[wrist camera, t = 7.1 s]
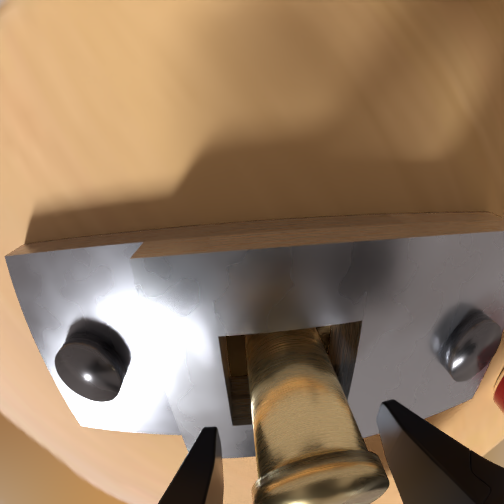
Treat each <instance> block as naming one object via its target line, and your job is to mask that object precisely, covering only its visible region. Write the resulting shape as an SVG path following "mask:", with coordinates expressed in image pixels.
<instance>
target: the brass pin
mask: <svg viewBox="0 0 504 504" xmlns="http://www.w3.org/2000/svg"><path fill="white" fill-rule="evenodd" d="M245 346H246V357H247V368H248V379H249V390H250V401H251V411H252V422H253V432H254V442H255V452H256V462H257V471H258V480H257V481H256V482H255V484H254V485H253V487H252V500H253V504H370V503H372V502H373V501H375V500H376V499H378V498H379V497H380V496H381V495H382V494H384V492H385V491H386V490H387V489H388V487H389V480H388V478H387V475H386V473H385V470H384V468H383V466H382V463H381V461H380V458H379V457H378V455H376V454H375V453H373V452H370V451H368V450H367V447H366V445H365V442H364V440H363V437H362V435H361V433H360V430H359V428H358V425H357V423H356V421H355V418H354V416H353V413H352V411H351V409H350V406H349V404H348V401H347V399H346V397H345V394H344V392H343V390H342V387H341V385H340V383H339V380H338V378H337V376H336V373H335V371H334V369H333V366H332V364H331V362H330V359H329V357H328V355H327V353H326V350H325V348H324V346H323V344H322V341H321V339H320V337H319V334H318V332H317V330H316V328H315V327H313V328H305V329H297V330H288V331H278V332H268V333H257V334H246V335H245Z"/></svg>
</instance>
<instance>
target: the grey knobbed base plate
mask: <svg viewBox="0 0 504 504" xmlns="http://www.w3.org/2000/svg"><path fill="white" fill-rule="evenodd" d="M5 259H6V263H7V266H8V270H9V273H10V276H11V280H12V283H13V286H14V289H15V292H16V295H17V298H18V300H19V303H20V306H21V309H22V311H23V314H24V316H25V319H26V322H27V324H28V326H29V329H30V331H31V334H32V336H33V338H34V340H35V343H36V345H37V347H38V349H39V351H40V354H41V356H42V358H43V360H44V362H45V364H46V366H47V368H48V370H49V372H50V374H51V376H52V377H53V379H54V381H55V383H56V385H57V387H58V388H59V390H60V392H61V394H62V396H63V397H64V399H65V401H66V402H67V404H68V406H69V407H70V409H71V411H72V412H73V414H74V415H75V417H76V418H77V420H78V422H79V423H80V425H81V426H86V427H92V428H99V429H106V430H114V431H124V432H134V433H147V434H166V435H182V437H183V440H184V442H185V445H186V447H187V450H188V452H189V451H190V449H191V448H192V446H193V444H194V442H195V441H196V439H197V437H198V435H199V434H200V432H201V430H202V429H203V428H204V427H210V426H216V427H217V428H218V432H219V436H220V440H221V447H222V458H239V457H253V456H256V452H255V442H254V432H253V422H252V411H251V401H250V390H249V379H248V376H240V377H231V373H230V366H229V359H228V351H227V344H226V336H233V335H246V334H257V333H268V332H278V331H288V330H297V329H305V328H313V327H321V326H329V325H331V333H330V343H329V352H328V357H329V359H330V362H331V364H332V366H333V369H334V371H335V373H336V376H337V378H338V380H339V383H340V385H341V387H342V390H343V392H344V394H345V397H346V399H347V401H348V404H349V406H350V409H351V411H352V413H353V416H354V418H355V421H356V423H357V425H358V428H359V430H360V433H361V435H362V437H363V438H365V437H369V436H372V435H376V434H379V430H378V426H377V423H376V417H377V414H378V411H379V408H380V405H381V403H382V402H383V401H387V400H390V399H394V400H396V401H398V402H399V403H401V404H402V405H404V406H405V407H406V408H408V409H409V410H411V411H412V412H414V413H415V414H417V415H418V416H420V417H421V418H423V419H425V418H427V417H430V416H433V415H435V414H438V413H440V412H443V411H445V410H447V409H450V408H452V407H454V406H457V405H459V404H461V403H463V402H465V401H467V400H470V399H472V398H473V396H474V394H475V392H476V390H477V388H478V386H479V384H480V382H481V380H482V378H483V376H484V374H485V372H486V370H487V368H488V366H489V363H490V361H491V359H492V357H493V356H494V354H495V353H496V351H497V349H498V346H499V344H500V341H501V336H502V332H503V329H504V218H503V217H500V216H498V215H495V214H493V213H490V212H440V213H401V214H373V215H350V216H329V217H310V218H293V219H277V220H262V221H248V222H235V223H222V224H209V225H197V226H186V227H174V228H164V229H153V230H143V231H133V232H123V233H114V234H105V235H96V236H87V237H78V238H70V239H62V240H54V241H46V242H38V243H31V244H24V245H22V246H20V247H19V248H17V249H16V250H14V251H12V252H11V253H9V254H8V255H6V256H5Z"/></svg>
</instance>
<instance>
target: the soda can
mask: <svg viewBox="0 0 504 504" xmlns="http://www.w3.org/2000/svg"><path fill="white" fill-rule="evenodd" d="M493 399H494V402H495V403H496V405H497V406H498V407H499V408H500V410H501V411H502V412H503V413H504V369H503V371H502V373H501V374H500V376H499V378H498V380H497V382H496V384H495V387H494V393H493Z"/></svg>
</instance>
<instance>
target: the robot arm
mask: <svg viewBox="0 0 504 504" xmlns="http://www.w3.org/2000/svg"><path fill="white" fill-rule="evenodd" d="M376 423H377V426H378V430H379V434H380V438H381V441H382V445H383V449H384V453H385V456H386V460H387V462H388V465H389V468H390V470H391V473H392V475H393V478H394V480H395V483H396V486H397V488H398V491H399V493H400V496H401V499H402V501H403V504H504V468H503V467H501V466H498V465H496V464H494V463H492V462H490V461H488V460H487V459H485V458H483V457H482V456H480V455H478V454H477V453H475V452H473V451H472V450H470V449H469V448H467V447H465V446H464V445H462V444H461V443H459V442H458V441H456V440H454V439H453V438H451V437H450V436H448V435H447V434H445V433H444V432H442V431H441V430H439V429H438V428H436V427H435V426H433V425H432V424H430V423H429V422H427V421H426V420H424V419H423V418H421V417H420V416H418V415H417V414H415V413H414V412H412V411H411V410H409V409H408V408H406V407H405V406H404V405H402V404H401V403H399V402H398V401H396V400H394V399H390V400H387V401H383V402H382V403H381V405H380V408H379V411H378V414H377V417H376ZM223 492H224V480H223V464H222V447H221V440H220V436H219V432H218V428H217V427H216V426H210V427H204V428H203V429H202V430H201V432H200V434H199V435H198V437H197V439H196V441H195V442H194V444H193V446H192V448H191V449H190V451H189V453H188V454H187V456H186V458H185V460H184V461H183V463H182V465H181V466H180V468H179V470H178V471H177V473H176V475H175V476H174V478H173V480H172V481H171V483H170V485H169V486H168V488H167V490H166V491H165V493H164V495H163V496H162V498H161V499H160V501H159V503H158V504H223Z"/></svg>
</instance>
